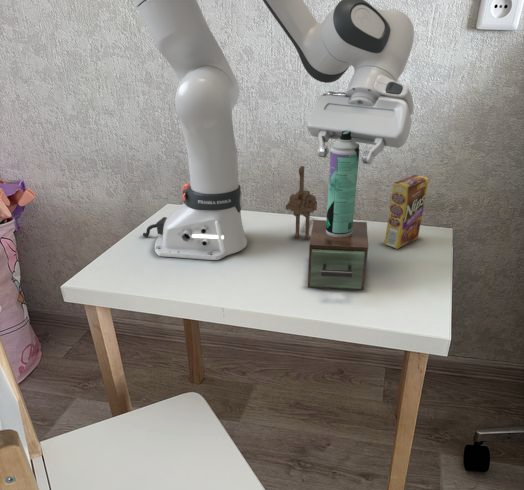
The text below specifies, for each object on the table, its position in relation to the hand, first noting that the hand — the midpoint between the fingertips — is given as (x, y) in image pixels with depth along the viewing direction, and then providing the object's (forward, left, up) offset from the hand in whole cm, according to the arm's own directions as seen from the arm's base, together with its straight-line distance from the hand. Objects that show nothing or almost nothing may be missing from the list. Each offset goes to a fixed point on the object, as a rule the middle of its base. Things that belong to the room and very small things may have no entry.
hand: (343, 158), depth 102 cm
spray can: (0, +1, -15) cm, 15 cm away
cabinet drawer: (0, -3, -24) cm, 24 cm away
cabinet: (0, +1, -25) cm, 25 cm away
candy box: (+18, +18, -25) cm, 36 cm away
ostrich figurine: (-5, +26, -25) cm, 36 cm away
